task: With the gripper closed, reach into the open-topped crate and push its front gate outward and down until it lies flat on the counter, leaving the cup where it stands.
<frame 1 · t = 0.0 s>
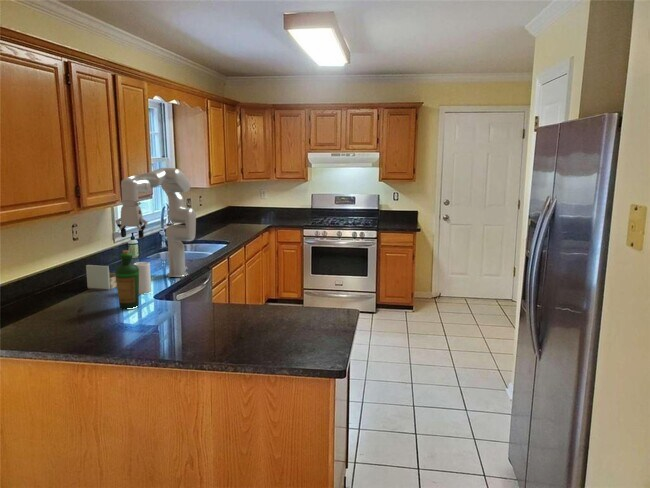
hand: (132, 237, 235), 31 cm above the countertop, tool pointing down, fingers open, 9 cm apart
bottle: (129, 308, 222), on the countertop
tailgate: (98, 278, 248), point 7 cm above the countertop, hinge at 0.0°
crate: (107, 286, 256), on the countertop
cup: (143, 292, 247), on the countertop
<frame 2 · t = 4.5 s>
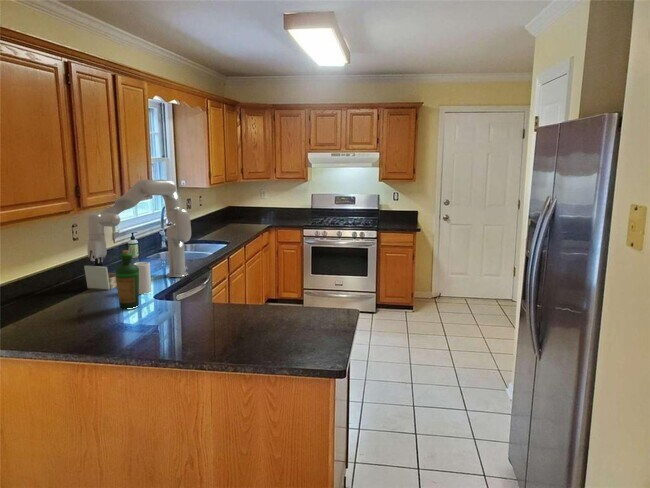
hand: (98, 269, 249), 11 cm above the countertop, tool pointing down, fingers closed
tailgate: (97, 278, 248), point 7 cm above the countertop, hinge at 6.5°, touching gripper
everything else where it was.
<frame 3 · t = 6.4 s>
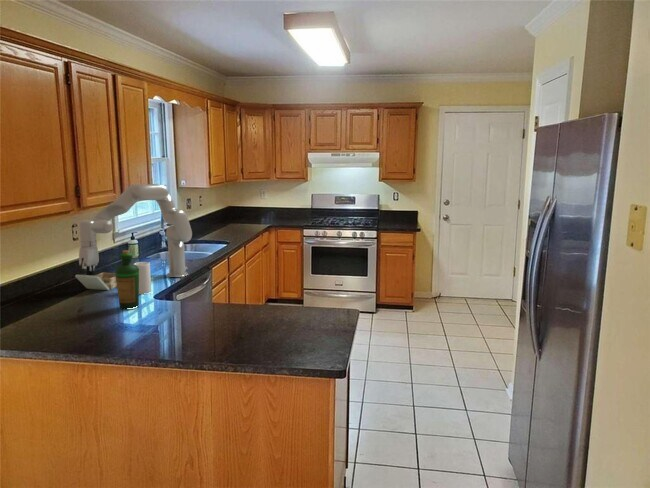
hand: (90, 277, 242), 8 cm above the countertop, tool pointing down, fingers closed
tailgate: (93, 283, 244), point 5 cm above the countertop, hinge at 43.6°, touching gripper
everything else where it was.
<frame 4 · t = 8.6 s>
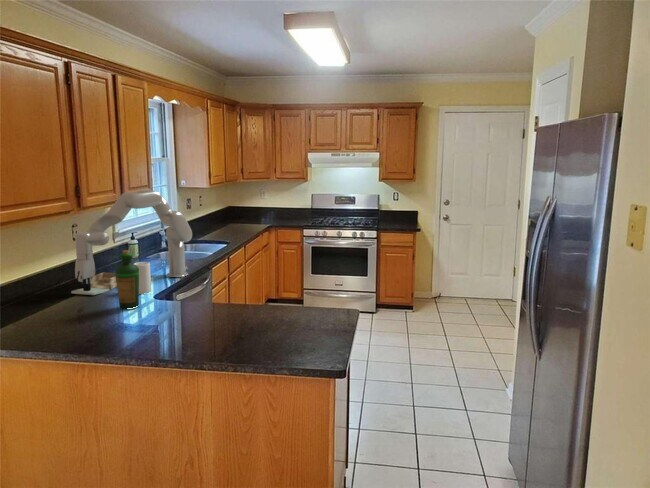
hand: (87, 290, 240), 2 cm above the countertop, tool pointing down, fingers closed
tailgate: (91, 290, 243), point 1 cm above the countertop, hinge at 83.6°, touching gripper
everything else where it was.
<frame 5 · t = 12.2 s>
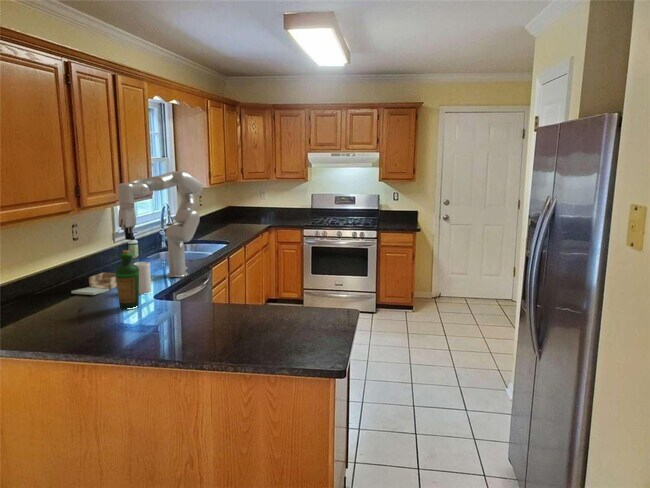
hand: (128, 239, 252), 27 cm above the countertop, tool pointing down, fingers closed
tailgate: (91, 290, 243), point 1 cm above the countertop, hinge at 83.6°
everything else where it was.
at the end: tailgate at +84° (first picture: +0°); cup moved 0.2 cm from its start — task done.
